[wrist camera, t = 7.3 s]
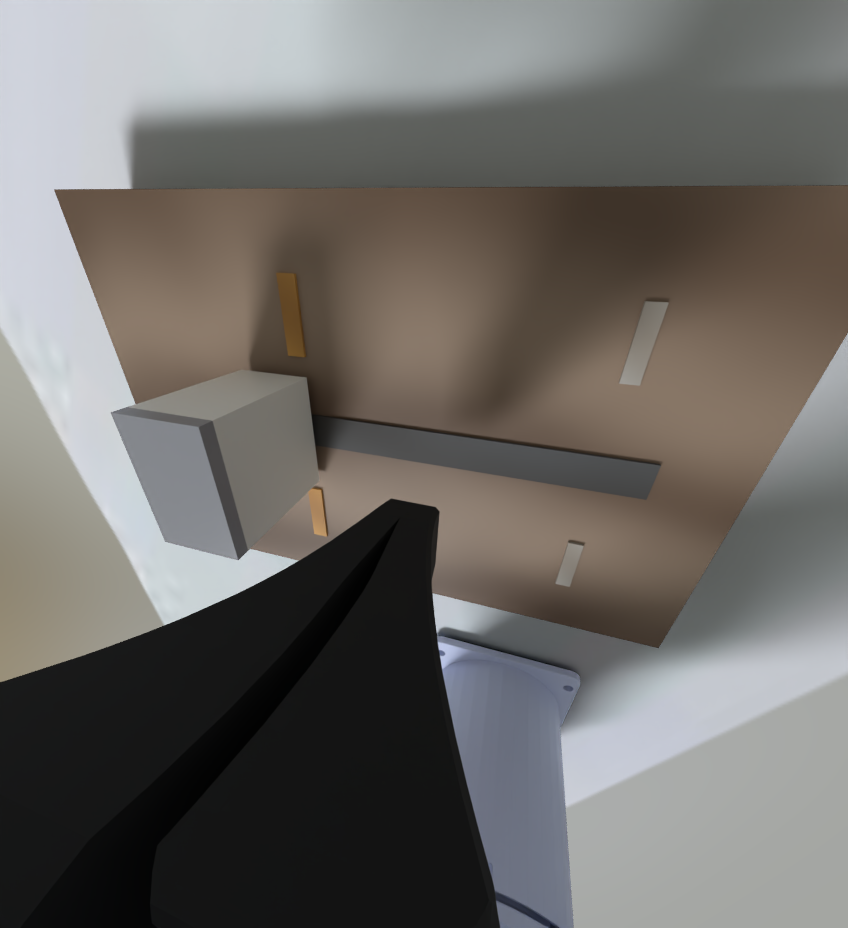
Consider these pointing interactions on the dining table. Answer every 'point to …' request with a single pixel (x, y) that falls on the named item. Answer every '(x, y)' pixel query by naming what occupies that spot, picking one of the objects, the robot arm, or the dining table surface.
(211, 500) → the fader tab
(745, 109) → the dining table surface
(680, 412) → the slider board
